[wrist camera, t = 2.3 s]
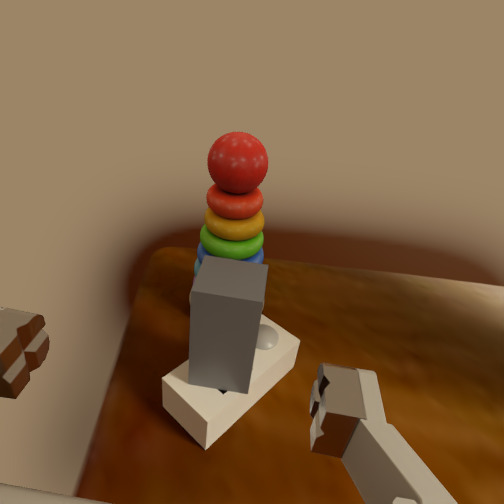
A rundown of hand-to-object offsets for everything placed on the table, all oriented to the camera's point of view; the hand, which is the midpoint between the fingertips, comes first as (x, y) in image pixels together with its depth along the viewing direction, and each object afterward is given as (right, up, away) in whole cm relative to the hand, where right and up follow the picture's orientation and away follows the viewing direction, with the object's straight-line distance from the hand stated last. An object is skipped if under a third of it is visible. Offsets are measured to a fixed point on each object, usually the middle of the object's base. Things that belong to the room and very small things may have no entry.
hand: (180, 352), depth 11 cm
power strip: (0, -9, +22) cm, 23 cm away
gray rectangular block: (0, -8, +20) cm, 21 cm away
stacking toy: (-1, -3, +30) cm, 30 cm away
